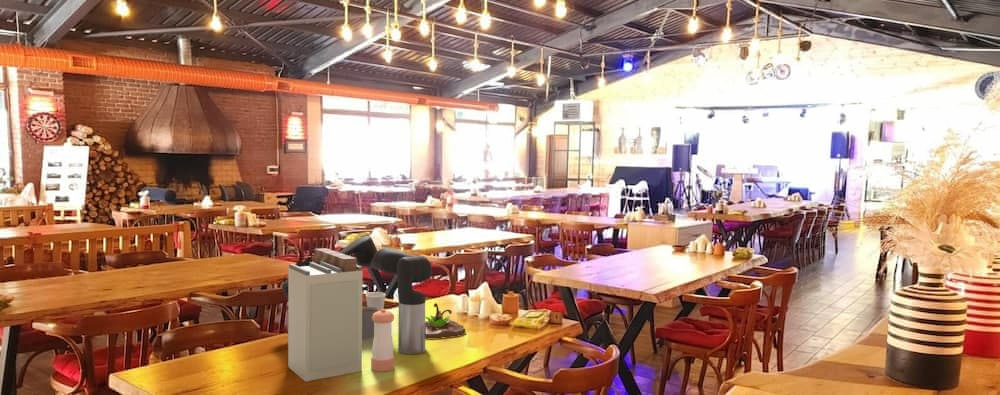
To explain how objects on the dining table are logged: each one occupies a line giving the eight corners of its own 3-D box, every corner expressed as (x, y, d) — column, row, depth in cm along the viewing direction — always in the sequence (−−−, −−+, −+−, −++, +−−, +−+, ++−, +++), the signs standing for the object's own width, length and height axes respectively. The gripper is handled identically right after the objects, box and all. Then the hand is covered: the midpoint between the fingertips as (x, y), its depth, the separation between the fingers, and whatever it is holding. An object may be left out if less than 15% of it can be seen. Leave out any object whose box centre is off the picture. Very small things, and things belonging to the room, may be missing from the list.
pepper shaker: (373, 363, 211) (374, 306, 209) (396, 364, 210) (396, 306, 209) (368, 371, 203) (369, 311, 202) (391, 371, 203) (392, 311, 202)
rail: (314, 260, 219) (314, 248, 219) (325, 259, 221) (325, 248, 221) (344, 272, 198) (344, 259, 198) (356, 271, 200) (356, 258, 200)
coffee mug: (381, 337, 242) (381, 310, 242) (355, 340, 237) (355, 313, 237) (369, 328, 254) (369, 303, 253) (344, 331, 249) (344, 306, 248)
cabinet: (288, 367, 206) (288, 263, 204) (341, 357, 216) (342, 259, 214) (306, 382, 192) (306, 271, 190) (362, 371, 203) (363, 267, 201)
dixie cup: (375, 321, 266) (375, 297, 265) (361, 318, 270) (361, 294, 270) (389, 317, 273) (389, 293, 272) (375, 314, 277) (375, 291, 277)
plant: (452, 324, 265) (452, 297, 265) (471, 336, 248) (471, 307, 247) (405, 328, 257) (405, 300, 256) (421, 341, 239) (422, 311, 238)
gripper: (286, 267, 227) (300, 249, 215) (325, 264, 235) (340, 246, 224) (290, 287, 224) (303, 270, 213) (329, 283, 233) (344, 266, 221)
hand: (322, 258), depth 218 cm, fingers open, 8 cm apart
